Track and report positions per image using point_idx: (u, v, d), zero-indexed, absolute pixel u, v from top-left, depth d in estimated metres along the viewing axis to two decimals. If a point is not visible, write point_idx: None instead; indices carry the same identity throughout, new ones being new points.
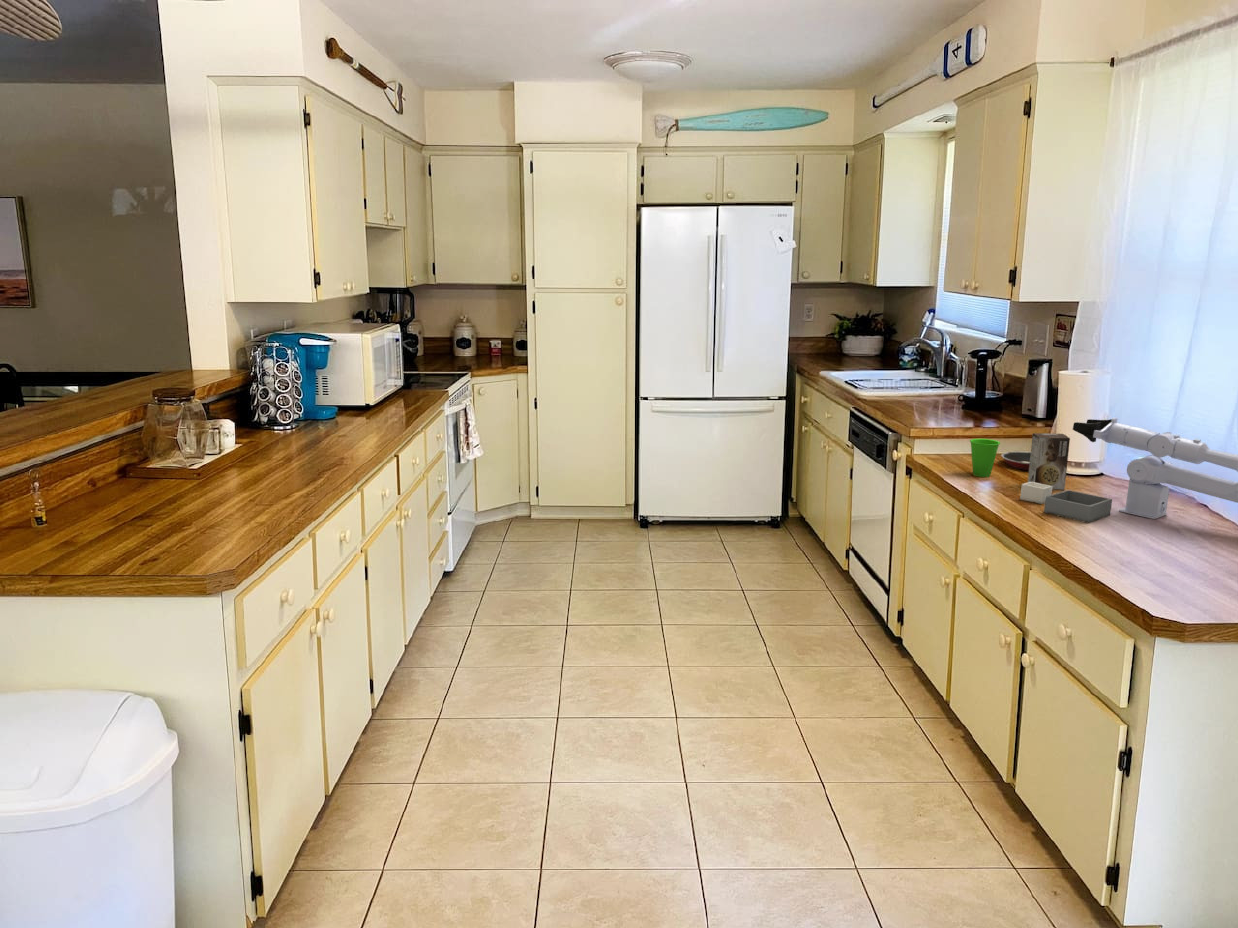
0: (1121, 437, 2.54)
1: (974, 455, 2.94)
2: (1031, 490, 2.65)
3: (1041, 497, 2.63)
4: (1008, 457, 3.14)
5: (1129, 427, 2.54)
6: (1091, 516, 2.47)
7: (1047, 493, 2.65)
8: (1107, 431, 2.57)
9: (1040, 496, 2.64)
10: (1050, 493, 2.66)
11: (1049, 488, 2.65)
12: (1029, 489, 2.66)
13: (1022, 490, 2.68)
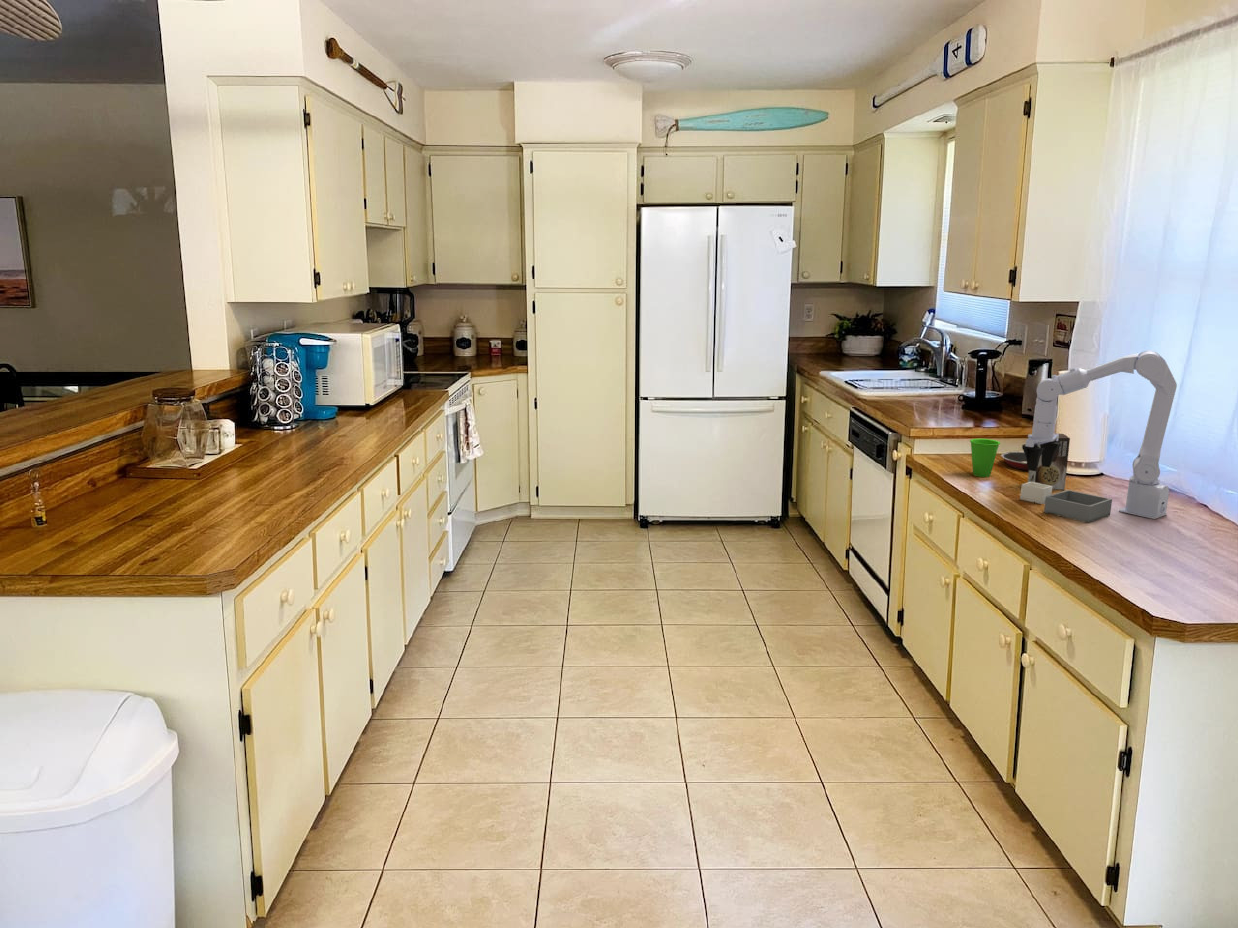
0: (1039, 425, 2.61)
1: (974, 455, 2.94)
2: (1031, 490, 2.65)
3: (1041, 497, 2.63)
4: (1008, 457, 3.14)
5: (1033, 420, 2.64)
6: (1091, 516, 2.47)
7: (1047, 493, 2.65)
8: (1035, 438, 2.62)
9: (1040, 496, 2.64)
10: (1050, 493, 2.66)
11: (1049, 488, 2.65)
12: (1029, 489, 2.66)
13: (1022, 490, 2.68)
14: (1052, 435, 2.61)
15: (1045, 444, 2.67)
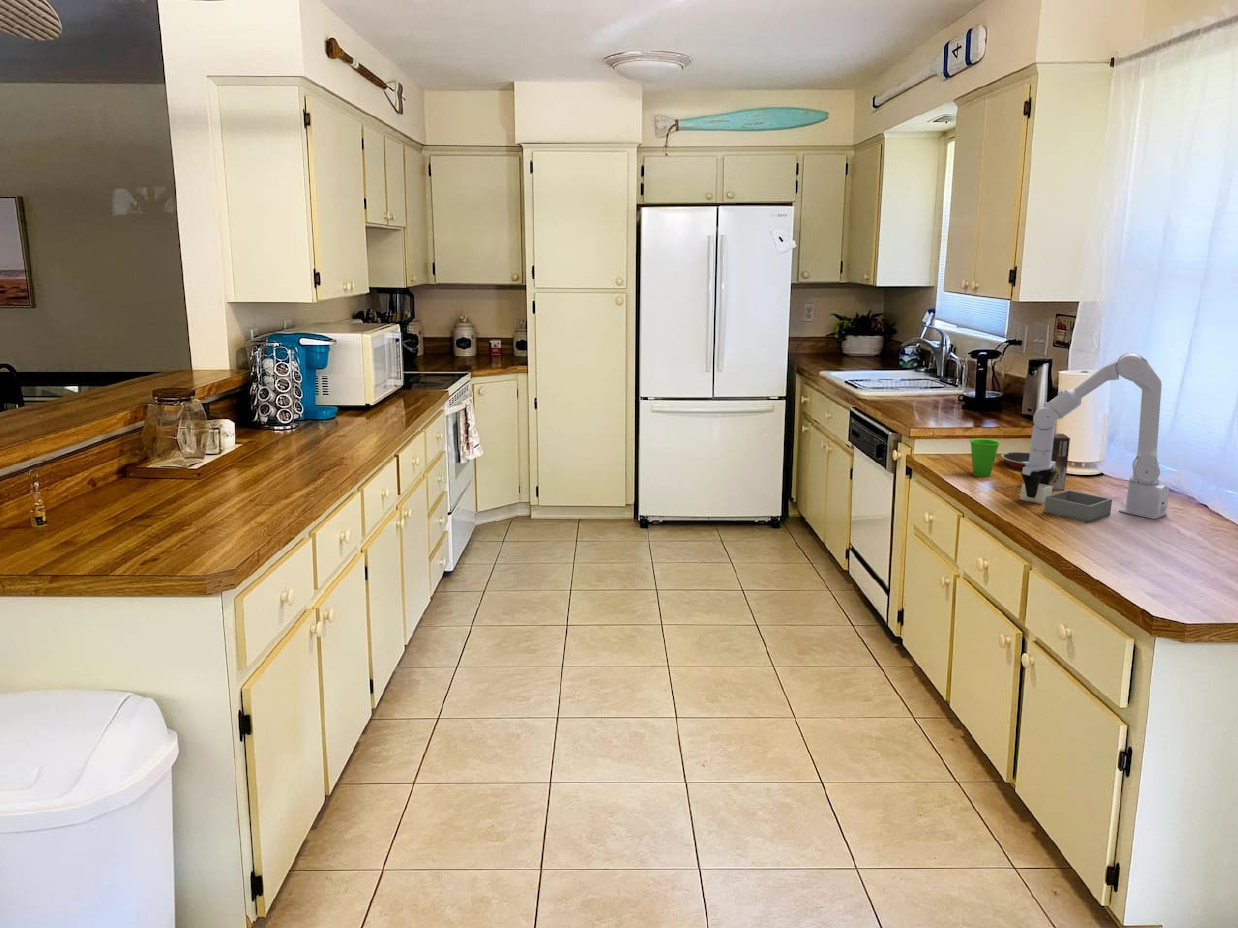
0: (1035, 452, 2.63)
1: (974, 455, 2.94)
2: None
3: (1041, 497, 2.63)
4: (1008, 457, 3.14)
5: (1030, 448, 2.66)
6: (1091, 516, 2.47)
7: (1047, 493, 2.65)
8: None
9: (1040, 496, 2.64)
10: (1050, 493, 2.66)
11: (1049, 488, 2.65)
12: None
13: (1022, 490, 2.68)
14: (1049, 463, 2.63)
15: (1040, 472, 2.68)
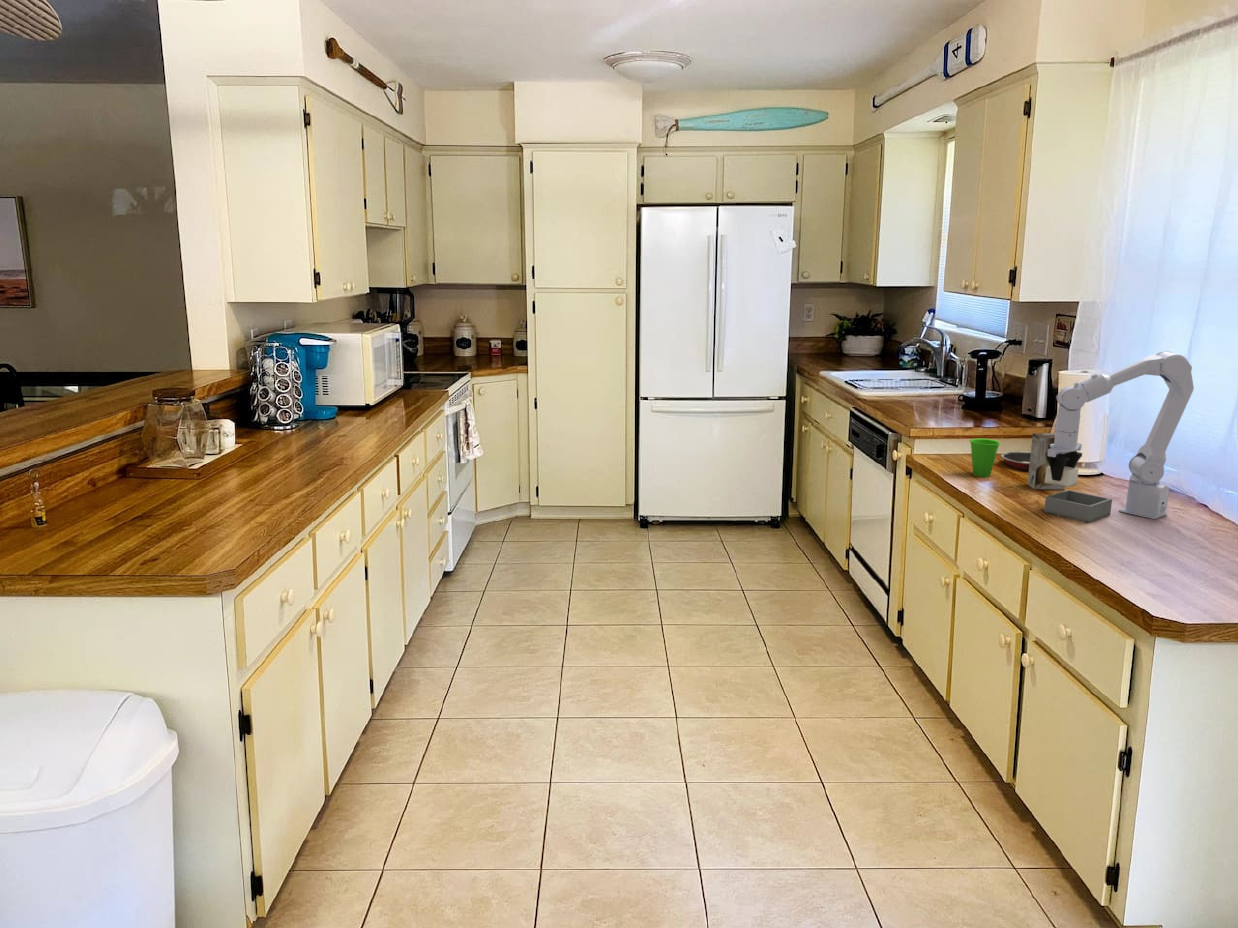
0: (1061, 434, 2.54)
1: (974, 455, 2.94)
2: None
3: (1067, 480, 2.55)
4: (1008, 457, 3.14)
5: None
6: (1091, 516, 2.47)
7: (1073, 476, 2.56)
8: (1057, 448, 2.55)
9: (1065, 479, 2.55)
10: (1076, 476, 2.57)
11: (1075, 471, 2.56)
12: None
13: (1047, 473, 2.59)
14: (1075, 445, 2.54)
15: (1066, 454, 2.59)
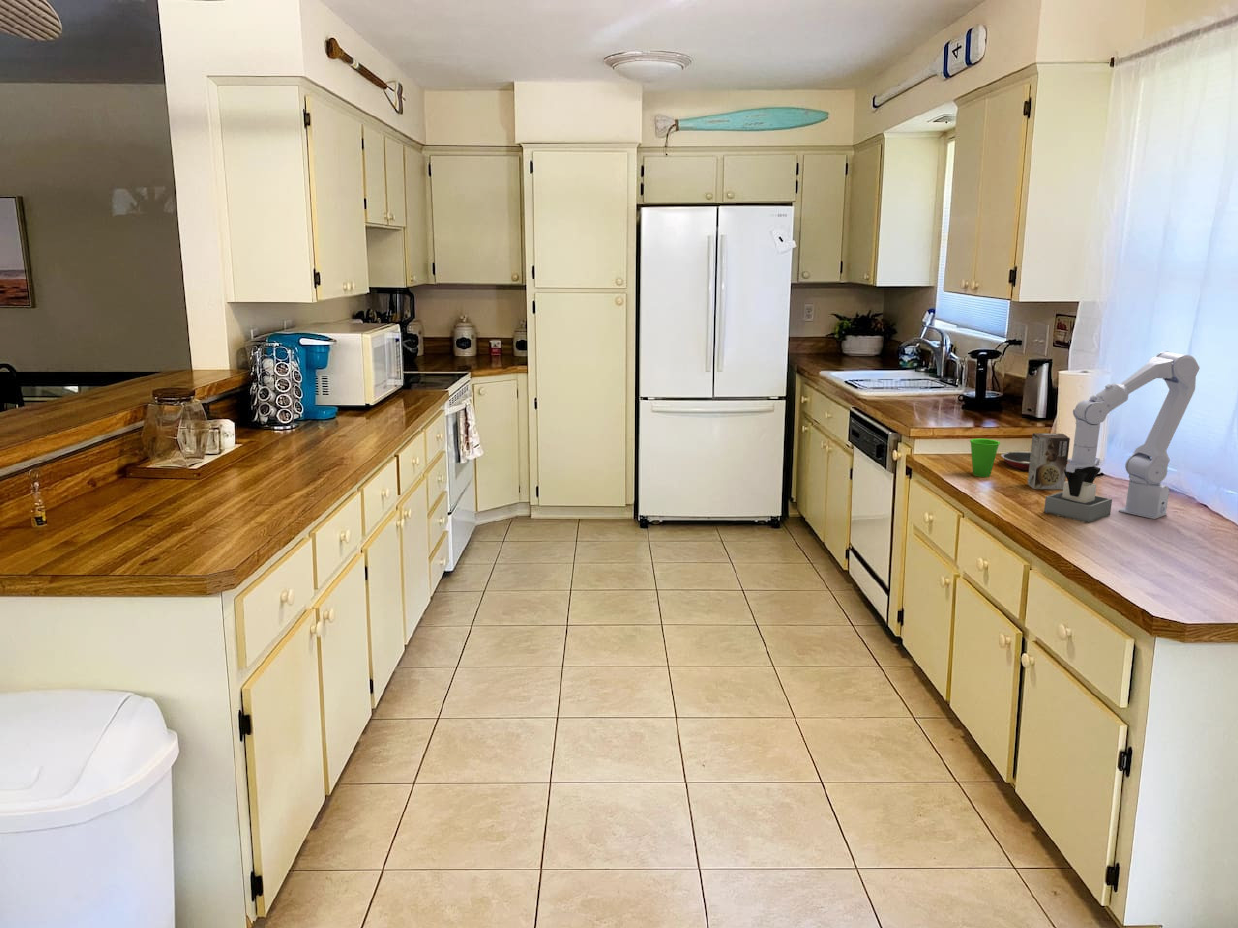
0: (1080, 449, 2.49)
1: (974, 455, 2.94)
2: None
3: (1085, 496, 2.50)
4: (1008, 457, 3.14)
5: None
6: (1091, 516, 2.47)
7: (1091, 492, 2.51)
8: None
9: (1084, 495, 2.50)
10: (1094, 492, 2.52)
11: (1093, 486, 2.51)
12: None
13: (1064, 488, 2.54)
14: (1094, 460, 2.49)
15: (1083, 469, 2.54)
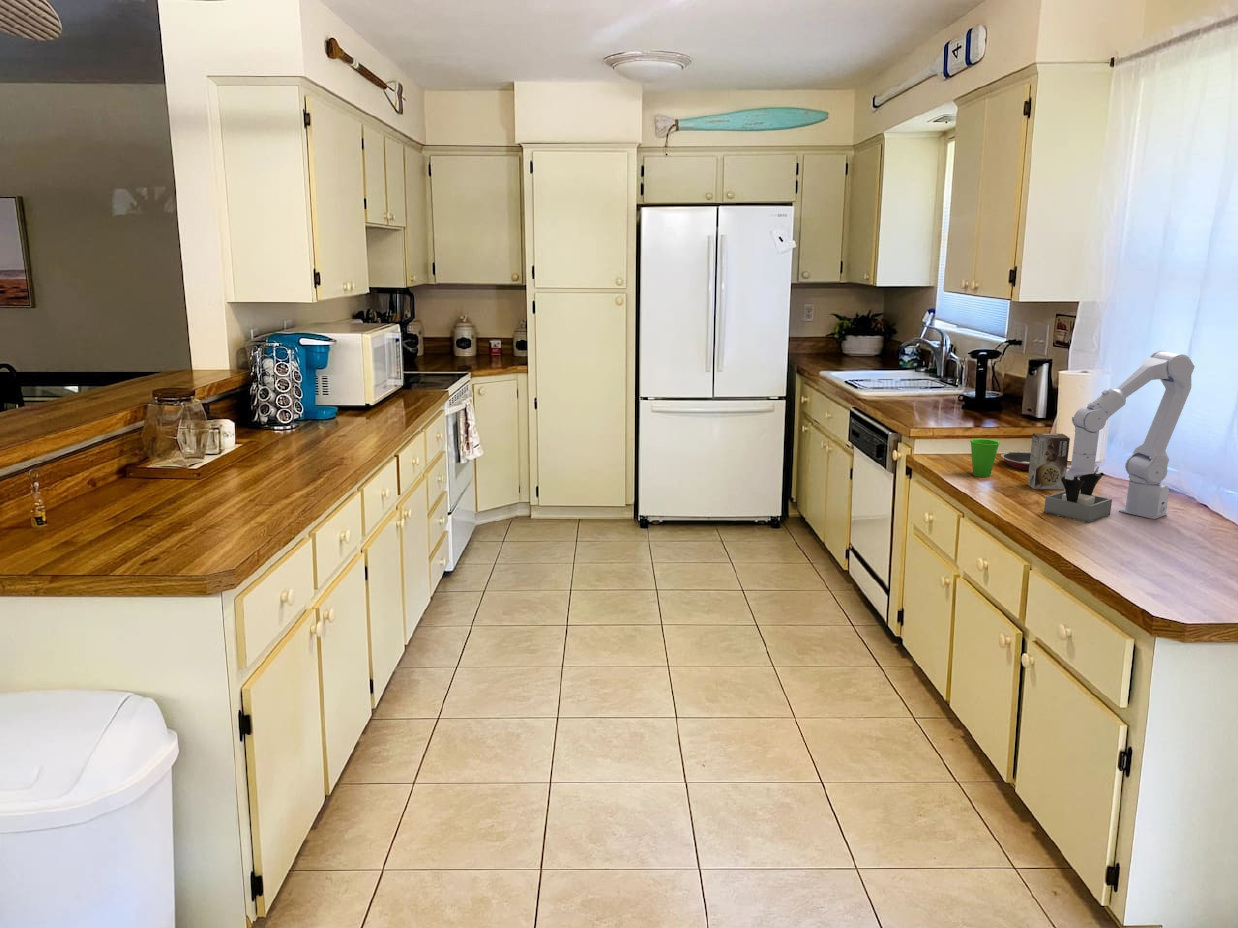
0: (1079, 456, 2.49)
1: (974, 455, 2.94)
2: None
3: None
4: (1008, 457, 3.14)
5: (1073, 451, 2.52)
6: (1091, 516, 2.47)
7: (1090, 504, 2.51)
8: (1074, 470, 2.50)
9: None
10: (1092, 504, 2.52)
11: (1092, 499, 2.52)
12: None
13: None
14: (1093, 467, 2.49)
15: (1084, 476, 2.55)
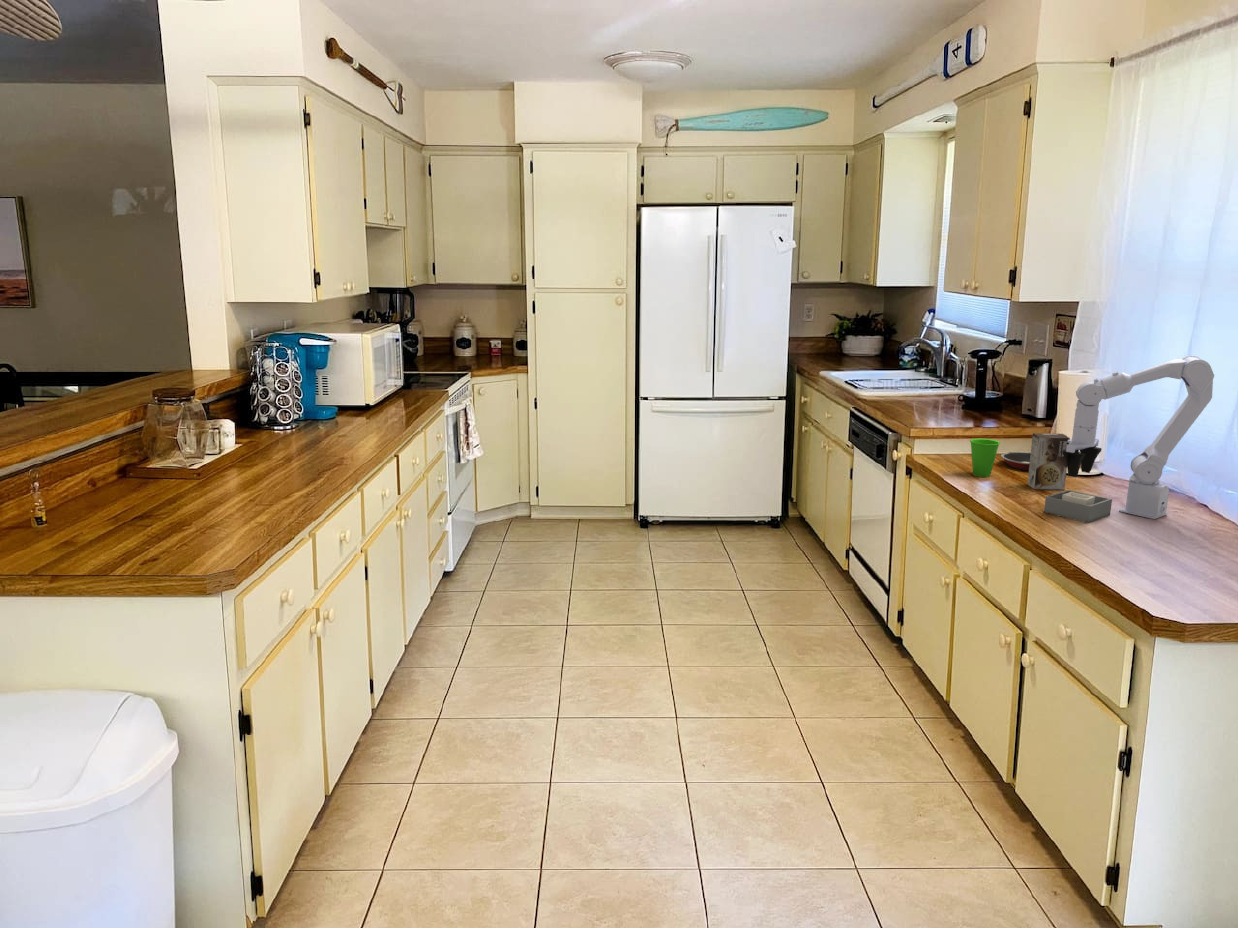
0: (1080, 429, 2.54)
1: (974, 455, 2.94)
2: (1073, 501, 2.52)
3: None
4: (1008, 457, 3.14)
5: None
6: (1091, 516, 2.47)
7: (1090, 504, 2.51)
8: (1075, 443, 2.56)
9: None
10: (1092, 504, 2.52)
11: (1092, 499, 2.52)
12: (1071, 500, 2.53)
13: None
14: (1093, 440, 2.55)
15: (1085, 449, 2.61)
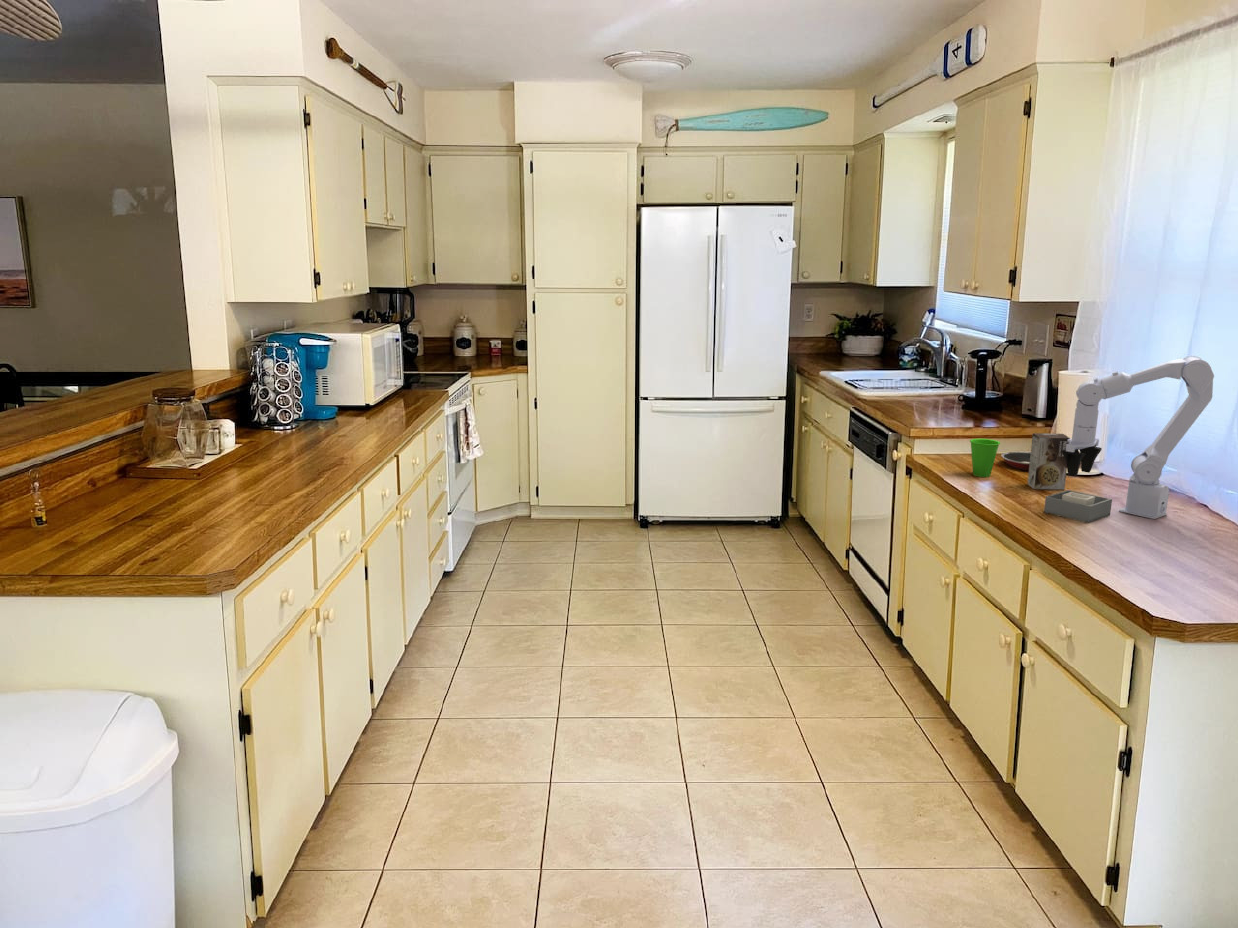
0: (1079, 429, 2.55)
1: (974, 455, 2.94)
2: (1073, 501, 2.52)
3: None
4: (1008, 457, 3.14)
5: None
6: (1091, 516, 2.47)
7: (1090, 504, 2.51)
8: None
9: None
10: (1092, 504, 2.52)
11: (1092, 499, 2.52)
12: (1071, 500, 2.53)
13: None
14: (1093, 440, 2.55)
15: (1085, 449, 2.61)
